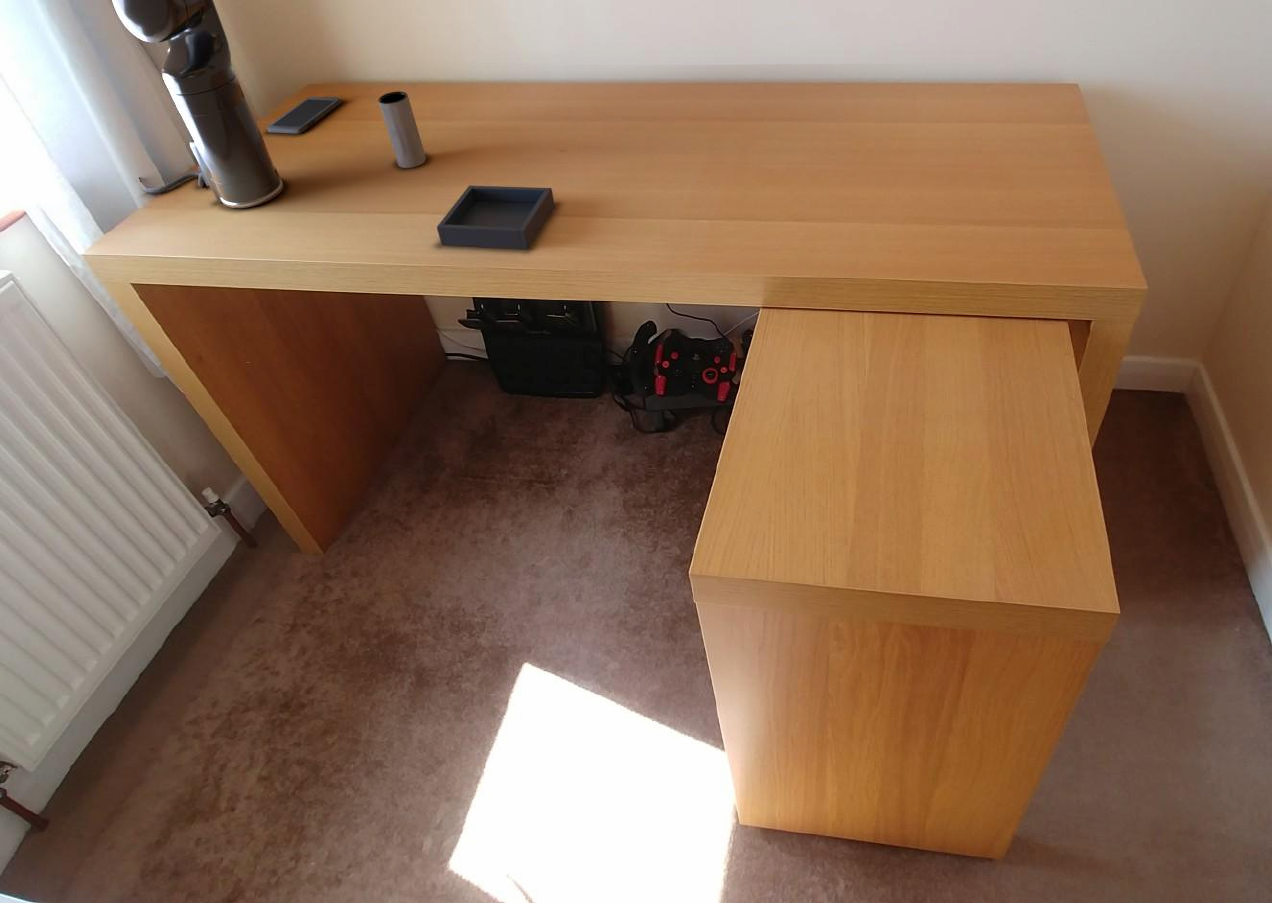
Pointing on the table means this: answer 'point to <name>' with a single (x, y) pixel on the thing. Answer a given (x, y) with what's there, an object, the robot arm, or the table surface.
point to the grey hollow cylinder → (402, 129)
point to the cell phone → (304, 115)
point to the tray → (496, 217)
